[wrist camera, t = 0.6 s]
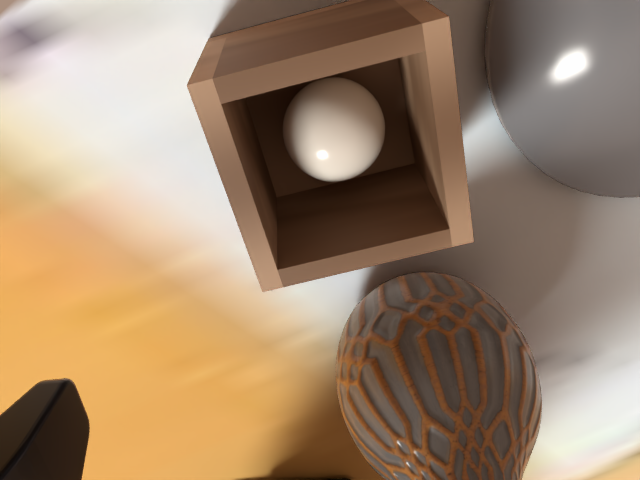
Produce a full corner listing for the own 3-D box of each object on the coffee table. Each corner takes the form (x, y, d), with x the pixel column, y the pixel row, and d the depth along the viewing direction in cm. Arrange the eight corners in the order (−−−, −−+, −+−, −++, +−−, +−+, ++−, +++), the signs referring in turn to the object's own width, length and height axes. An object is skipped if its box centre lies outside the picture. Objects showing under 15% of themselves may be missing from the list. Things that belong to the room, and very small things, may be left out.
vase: (446, 211, 21) (543, 388, 13) (522, 326, 24) (636, 521, 16) (294, 303, 22) (305, 507, 15) (384, 399, 26) (430, 606, 18)
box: (430, 167, 20) (473, 242, 15) (264, 208, 20) (262, 292, 16) (403, -14, 17) (449, 16, 12) (208, 38, 17) (186, 85, 13)
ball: (377, 154, 19) (393, 194, 16) (286, 161, 19) (288, 203, 16) (376, 61, 17) (394, 90, 15) (277, 69, 17) (278, 100, 14)
